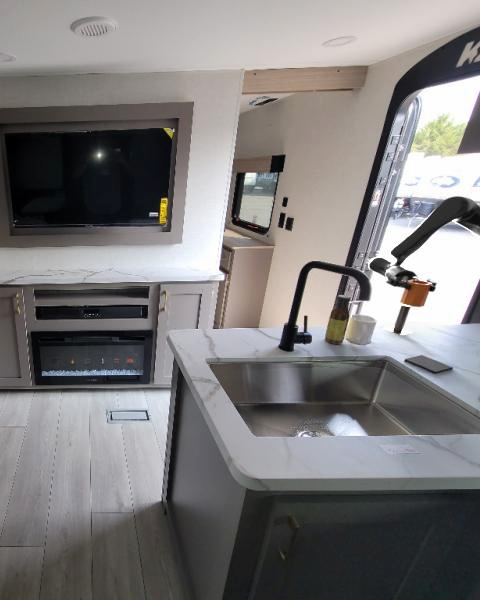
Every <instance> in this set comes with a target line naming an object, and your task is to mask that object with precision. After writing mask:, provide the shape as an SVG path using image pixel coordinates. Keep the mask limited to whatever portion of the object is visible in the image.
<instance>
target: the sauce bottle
mask: <svg viewBox="0 0 480 600" xmlns="http://www.w3.org/2000/svg"><path fill="white" fill-rule="evenodd" d="M350 301H351V296H349V295H347V294H339V295H337V301H336V304H335V307H333V308H332V309H331V311H330V315H329V317H328V321H327V326H326V329H325V330H326V331H325V333H324V334H325V335H324V341H326V342H327V343H329V344H334V345H341V344H343V343H344V340H345V338H346V337H345V333H346V330H347V327H348V323H349V320H350V316H351V314H350V309H349V304H350Z"/></svg>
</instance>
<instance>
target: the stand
mask: <svg viewBox="0 0 480 600" xmlns="http://www.w3.org/2000/svg"><path fill="white" fill-rule="evenodd" d="M411 307H412V306H408V305H404V304H402V303H401V305H400V307H399V311H398V314H397V317H396V320H395V323H394V325H392V326H388V327H382V329H383V330H386V331H388V332H391V333H394V334H397V335H400V336H404V335H409V334H413V332H412V331H410V330H407V329H404V328H405V324H406V321H407V318H408V316H409V313H410V310H411Z"/></svg>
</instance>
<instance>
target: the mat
mask: <svg viewBox="0 0 480 600" xmlns="http://www.w3.org/2000/svg"><path fill="white" fill-rule="evenodd" d="M404 362H406V363H408V364H411V365H413V366H415V367H418V368H420V369H422V370H425V371H427V372H429V373H432V374H434V375H436V374H440V373H444V372H447V371H451V370H453V368H454V367H453V366H451V365H448V364H446V363H443V362H440V361H438V360H436V359H433V358H431V357H428V356H425V355H423V354H420V355H416V356H412V357H407V358H404Z"/></svg>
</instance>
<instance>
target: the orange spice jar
mask: <svg viewBox="0 0 480 600" xmlns="http://www.w3.org/2000/svg"><path fill="white" fill-rule="evenodd" d="M426 281H427V280H426ZM426 281H421V280H408V281H407V283H409V284H411V285H412V286H411V289H410V290H406V289H405V288H403V289H404V290H403V293H402V295H401V299H400V300H399V301H400V302H399V303H401V305H402V304H404V305H408V306H411V307H416V308H422V307H425V304H426V303H427V298H428V296H429V294H430V288H431V285H432V284H431V283H429V282H426Z"/></svg>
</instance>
